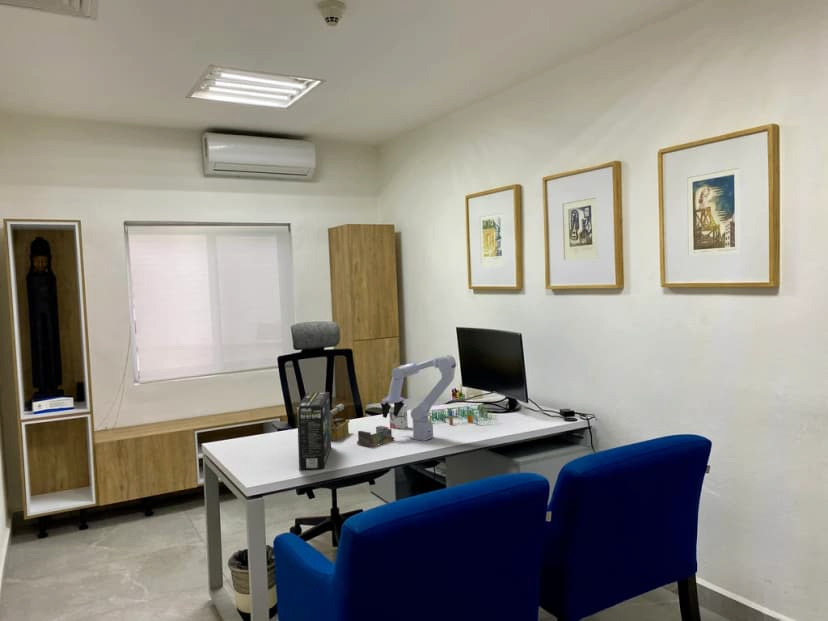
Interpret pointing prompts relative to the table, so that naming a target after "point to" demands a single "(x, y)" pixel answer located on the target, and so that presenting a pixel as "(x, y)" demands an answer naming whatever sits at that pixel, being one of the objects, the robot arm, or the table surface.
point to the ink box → (398, 418)
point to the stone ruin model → (374, 438)
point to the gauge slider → (381, 428)
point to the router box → (314, 430)
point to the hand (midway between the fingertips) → (389, 416)
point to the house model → (470, 417)
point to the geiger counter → (338, 424)
